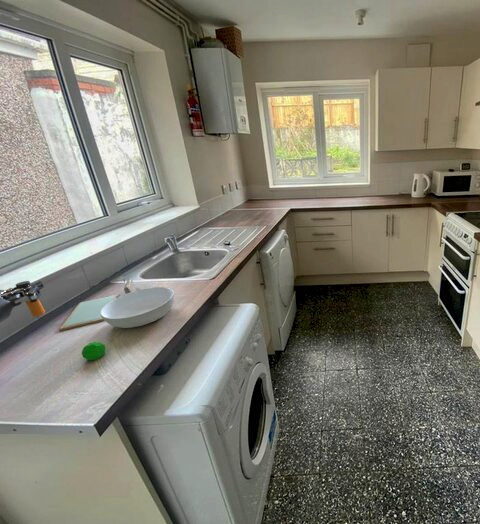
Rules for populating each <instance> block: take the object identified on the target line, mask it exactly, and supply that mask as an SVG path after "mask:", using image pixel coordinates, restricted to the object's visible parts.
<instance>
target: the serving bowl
mask: <svg viewBox="0 0 480 524" xmlns="http://www.w3.org/2000/svg"><path fill="white" fill-rule="evenodd" d="M136 290H137V291H133V292H130V293H127V294H126V293H124V294H122V295H120V296H118V297H117V298H116V299H114V300H112V301H110V302H109V303H107V304H106V305H105V306H104V307H103V308H102V309H101V312H100V315H101V317H102V318H103V319H104V320H103V321H104V322H105V323H106V324H108V325H110V326H112V327H115V328H120V329H131V328H137V327H142V326H145V325H149V324H150V323H153V322H155V321H158V320H159V319H161V318H162V317H164V316H165V315H166V314H168V313H169V312H170V311H171V309H172V308H173V306H174V304H175V292H174V290H173V289H172V288H170V287H166V286H153V287H152V286H151V287H147V288H146V287H145V288H141V289H136Z"/></svg>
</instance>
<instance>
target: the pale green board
mask: <svg viewBox="0 0 480 524" xmlns="http://www.w3.org/2000/svg"><path fill="white" fill-rule="evenodd" d="M118 297H119V294H114V295H109V296H104V297H99V298H94V299H90V300H86V301H81V302H79V303H78V305H77V306H76V307H75V308H74V309H73V311H72V312H71V313H70V314H69V316H68V317H67V318H66V320H65V321H64V322H63V324H62V325H61V326H60V328H59V331H65V330H70V329H73V328H77V327H82V326H86V325H90V324H94V323H99V322H103V321H105V320H104V319H103V318H102V317H101V315H100V312H101V309H102V308H103V307H104V306H105V305H106V304H107V303H109V302H110V301H112V300H114V299H116V298H118Z"/></svg>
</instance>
